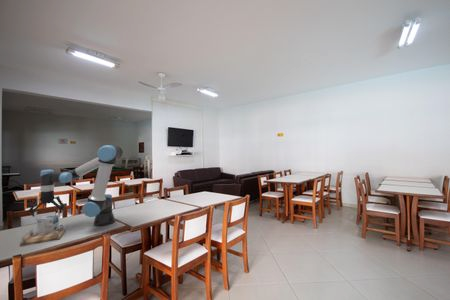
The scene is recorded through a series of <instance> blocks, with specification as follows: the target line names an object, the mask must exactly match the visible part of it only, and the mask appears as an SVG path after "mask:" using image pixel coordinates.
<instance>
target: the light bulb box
mask: <svg viewBox="0 0 450 300" xmlns="http://www.w3.org/2000/svg"><path fill="white" fill-rule="evenodd" d="M59 219H60V218H58V214H57V215H44V216H43V215H42V216H41V217H37V220H36V226H37V228H36V229H37V234H40V233H46V232H52V231H58V230H60V222H59V221H60V220H59Z"/></svg>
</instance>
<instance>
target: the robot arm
mask: <svg viewBox="0 0 450 300" xmlns="http://www.w3.org/2000/svg"><path fill="white" fill-rule="evenodd" d="M123 155H124V151H123V149H122V147H121V146H118V145H111V144H107V145H103V146H100V147H99V149H98V150H97V157H95V158H93V159H91V160H89V161H87V162H85V163H84V164H81V165H80V166H77V167H75V168H74V169H72V170H69V171H63V172H60V171H59V172H55V171H54V169H42V170H41V171H40V176H39V177H40V178H39V179H40V197H39V198H38V197H36V198H34V202H33V203H32V204H31V206H30V208H29V210H28V212H30V213H31V217H32V218H33V221H34V222H37V219H38V212H37V210H38V209H39V208H40V207H41V206H42V205H43V204H44V205H45V204H52V205H54V207H56V208H57V215H58V218H59V219H60V218H61V214H62V213H63V212H62V211H63V209H65V207H66V206H65V204H64V203H63V202H62V199H61V198H60V195H58V196H55V190H54V189H55V184H56V183H59V184H60V183H62V184H65V183H70V182H71V181H75V180H78V179H80V178H82V176H84V175H86V174H89V173H91V172H92V171H94V170H97V172H96V175H95V176H96V177H95V181H94V184H93V188H92V190H91V191H92V192H91V194H90V195H89V196H88V197H87V200H86V202H85V203H84V204H83V205H82V209H81V210H82V213H83V214H84V215H85V216H86V217H89V218H93V226H96V227H103V226H108V225H111V224H113V223H114V222H115V221H116V217H115V216H114V213H113V195H112V194H109V193H108V194H106V192H107V187H108V184H109V180H110V177H111V173H112V169H113V166H115V165H116V163H117V160H120V159H121V158H122V157H123ZM55 200H56V201H57V202H58V203H57V202H56V201H55ZM39 201H40V203H39V204H37V202H39ZM36 205H37V206H36ZM115 223H116V222H115Z"/></svg>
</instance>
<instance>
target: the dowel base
mask: <svg viewBox="0 0 450 300" xmlns="http://www.w3.org/2000/svg"><path fill="white" fill-rule="evenodd" d="M65 232H66V229H64V225H63V224H59V229H58V230H56V231H52V232H46V233H36V234H34V230H33V228H31V229H29V235H28V236H26V235H24V236H23V235H22V236H21V237H22V238H21V239H22V241H20V243H19V247H24V246H29V245H30V246H31V245H35V244H41V243H47V242H53V241H58V240H61V238H62V237H63V236H64V233H65Z"/></svg>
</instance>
